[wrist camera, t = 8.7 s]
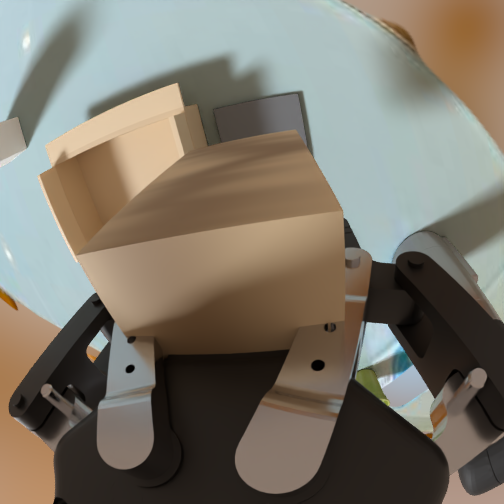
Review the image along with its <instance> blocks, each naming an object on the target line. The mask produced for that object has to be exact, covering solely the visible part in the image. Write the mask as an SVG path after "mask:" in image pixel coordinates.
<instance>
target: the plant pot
mask: <svg viewBox="0 0 504 504" xmlns="http://www.w3.org/2000/svg"><path fill="white" fill-rule="evenodd" d="M356 380H357V381H358V382H359V383H360V384H362V385H363V386H364V387H365V388H367V389H368V390H369V391H370V392H371V393H373V394H374V395H375V396H376V397H378V398H379V399H380V400H381V401H383V402H384V403H385V404H386V405H388V406H389V405H390V402H389V400H388V399H387V398H386V396H385V395H384V393H383V391H382V389H381V386H380V384H379V382H378V379H377V377H376V374H375V372H374V371H373V370H370V369H364V370H360V371H359V372H357V375H356Z"/></svg>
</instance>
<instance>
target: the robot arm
mask: <svg viewBox="0 0 504 504" xmlns="http://www.w3.org/2000/svg"><path fill="white" fill-rule="evenodd" d="M343 219H344V240H345V321H339V322H332V323H331V332H328V323H325V324H318V325H310V326H302V327H299V329H298V331H297V334H296V336H295V339H294V341H293V344H292V346H291V348H290V349H285V350H275V351H263V352H248V353H232V354H191V355H176V354H168V357H167V358H166V359H163V349H162V348H161V346H160V345H159V343H158V342H157V340H156V339H155V337H154V336H125V335H124V334H123V332H122V331H121V329H120V328H119V326H118V325H117V323H116V322H115V321H114V319H113V318H112V316H111V315H110V313H109V311H108V310H107V308H106V307H105V305H104V304H103V302H102V301H101V299H100V297H99V296H98V294H97V292H96V293H95V294H93V295H92V296H91V297H90V298H89V299H88V300H87V301H86V302H85V303H84V304H83V306H82V307H81V308H80V309H79V310H78V311H77V312H76V314H75V315H74V316H73V317H72V318H71V319H70V320H69V322H68V323H67V324H66V325H65V326H64V328H63V329H62V330H61V331H60V333H59V334H58V335H57V336H56V337H55V339H54V340H53V341H52V342H51V343H50V345H49V346H48V347H47V349H46V350H45V351H44V352H43V354H42V355H41V356H40V357H39V359H38V360H37V362H36V363H35V364H34V365H33V367H32V368H31V369H30V371H29V372H28V374H27V375H26V376H25V378H24V379H23V380H22V382H21V383H20V385H19V386H18V388H17V389H16V390H15V392H14V393H13V395H12V397H11V399H10V402H9V413H10V414H11V416H12V417H14V418H15V419H16V420H17V421H19V422H20V423H21V424H23V425H24V426H25V427H26V428H27V429H28V430H29V431H31V432H32V433H33V434H35V435H36V436H38V437H40V438H41V439H42V440H43V441H44V442H45V443H46V444H47V445H48V446H49V447H50V448H51V449H52V450H53V451H54V452H55V453H54V472H55V499H54V503H53V504H442V501H443V499H444V497H445V494H446V492H447V488H448V484H449V476H450V475H451V474H453V473H454V472H455V471H457V470H458V473H459V477H460V480H461V483H462V485H463V487H464V489H465V490H466V492H467V493H469V494H470V495H474V496H475V495H480V494H482V493H485V492H487V491H489V490H491V489H493V488H495V487H497V486H499V485H501V484H502V483H504V324H503V322H502V320H501V319H500V317H499V316H498V314H497V312H496V311H495V309H494V308H493V306H492V305H491V303H490V302H489V300H488V299H487V297H486V296H485V294H484V293H483V292H482V290H481V289H480V287H479V286H478V284H477V281H478V275H477V274H476V273H475V271H474V270H473V269H472V267H471V266H470V265H469V264H468V262H467V261H466V260H465V259H464V257H463V256H462V255H461V254H460V253H459V251H458V250H457V249H456V248H455V247H454V246H453V244H452V243H451V242H450V241H449V240H448V239H447V238H446V237H440V236H438V235H437V234H436V233H433V232H430V231H423V232H418V233H415V234H413V235H411V236H410V237H408V238H407V239H406V240H405V241H403V242H402V244H401V245H400V246H399V247H398V249H397V250H396V252H395V254H394V257H393V260H392V264H390V263H380V262H376V261H373V260H372V257H371V255H370V254H369V253H368V252H367V251H365V250H363V249H361V248H360V246H359V244H358V241H357V239H356V237H355V235H354V233H353V231H352V229H351V228H350V225H349V223H348V221H347V220H346V219H345V218H343ZM367 322H372V323H383V324H388V326H389V328H390V330H391V331H392V333H393V334H394V336H395V337H396V338H397V340H398V341H399V343H400V344H401V346H402V347H403V349H404V350H405V352H406V353H407V355H408V357H409V358H410V360H411V361H412V363H413V364H414V366H415V367H416V369H417V370H418V372H419V374H420V375H421V377H422V378H423V380H424V382H425V383H426V385H427V387H428V388H429V390H430V391H431V393H432V395H433V396H434V398H435V400H434V401H433V403H432V405H431V408H430V419H431V422H432V425H433V437H432V440H431V439H430V438H429V437H427V436H426V435H425V434H423V433H422V432H421V431H420V430H418V429H417V428H416V427H414V426H413V425H412V424H410V423H409V422H408V421H407V420H405V419H404V418H403V417H402V416H400V415H399V414H398V413H396V412H395V411H394V410H393V409H391V408H390V407H389V406H388V405H386V404H385V403H384V402H383V401H381V400H380V399H379V398H378V397H376V396H375V395H374V394H373V393H371V392H370V391H369V390H368V389H367V388H365V387H364V386H363V385H362V384H360V383H359V382H358V381H357V380H356V375H357V371H358V366H359V360H360V355H361V351H362V346H363V340H364V335H365V330H366V324H367ZM100 330H101V332H102V333H103V334H104V336H105V337H106V338H107V340H108V341H109V342H108V343H107V345H106V346H105V347H104V349H103V350H102V352H101V353H100V354H99V356H98V357H97V358H96V360H95V361H94V363H92V362H91V361H90V359H89V358H88V357H87V354H86V349H87V347H88V345H89V344H90V342H91V341H92V340H93V338H94V337H95V336H96V335H97V333H98V332H99V331H100Z"/></svg>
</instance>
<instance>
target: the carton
mask: <svg viewBox="0 0 504 504" xmlns="http://www.w3.org/2000/svg"><path fill="white" fill-rule="evenodd" d="M207 146H208V144H207V140H206V136H205V132H204V129H203V125H202V121H201V117H200V113H199V109H198V105H197V104H195V105H189V106H184V102H183V98H182V94H181V90H180V87H179V83H175V84H172V85H169V86H166V87H163V88H160V89H158V90H155V91H152V92H150V93H147V94H145V95H142V96H140V97H137V98H135V99H132V100H130V101H128V102H125V103H123V104H121V105H119V106H116V107H114V108H112V109H110V110H108V111H106V112H104V113H102V114H100V115H98V116H96V117H94V118H92V119H90V120H88V121H86V122H84V123H82V124H80V125H79V126H77V127H75V128H73V129H71V130H70V131H68V132H66V133H65V134H63V135H61V136H60V137H58V138H56V139H55V140H53V141H51V142H50V143H48V144H47V145H45V147H46V150H47V153H48V156H49V159H50V162H51V165H52V168H51V169H49V170H47V171H45V172H44V173H42V174H40V175H38V176H37V177H38V180H39V182H40V185H41V188H42V190H43V193H44V195H45V198H46V200H47V203H48V205H49V207H50V210H51V212H52V214H53V217H54V219H55V221H56V223H57V225H58V227H59V230H60V232H61V234H62V236H63V238H64V240H65V242H66V244H67V246H68V248H69V250H70V252H71V254H72V256H73V258H74V259H75V261H76V262H79V261H78V259H77V257H76V255H77V254H78V253H79V251H80V250H81V249H82V248H83V247H84V246H85V245H86V244H87V243H88V242H89V241H90V240H91V239H92V238H93V237H94V236H95V235H96V234H97V233H98V232H99V231H100V229H101V228H102V227H103V226H104V225H105V224H107V223H108V222H109V221H110V220H111V219H112V218H113V217H114V216H115V215H116V214H117V213H118V212H119V211H120V210H121V209H122V208H123V207H124V206H125V205H126V204H127V203H129V202H130V201H131V200H132V199H133V198H134V197H135V196H136V195H137V194H138V193H140V192H141V191H142V190H143V189H144V188H145V187H146V186H148V185H149V184H150V183H151V182H152V181H153V180H155V179H156V178H157V177H158V176H159V175H160V174H162V173H163V172H164V171H165V170H166V169H168V168H169V167H170V166H171V165H173V164H174V163H175V162H176V161H178V160H179V159H180V158H181V157H183V156H184V155H185V154H187V153H188V152H189V151H191V150H194V149H198V148H202V147H207Z"/></svg>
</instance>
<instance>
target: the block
mask: <svg viewBox="0 0 504 504" xmlns="http://www.w3.org/2000/svg"><path fill="white" fill-rule="evenodd" d="M76 257H77V259H78V261H79V263H80V265H81V266H82V268H83V270H84V272H85V274H86V275H87V277H88V279H89V281H90V282H91V284H92V286H93V287H94V289H95V291H96V292H97V294H98V296H99V297H100V299H101V301H102V302H103V304H104V305H105V307H106V308H107V310H108V311H109V313H110V315H111V316H112V318H113V319H114V321H115V322H116V323H117V325H118V326H119V328H120V329H121V331H122V332H123V334H124V335H125V336H154V337H155V339H156V340H157V342H158V343H159V345H160V346H161V348H162V349H163V359H166V358H167V357H168V354H176V355H191V354H232V353H248V352H263V351H275V350H285V349H290V348H291V346H292V344H293V341H294V339H295V336H296V334H297V331H298V329H299V327H302V326H310V325H318V324H325V323H328V332H331V323H332V322H339V321H345V240H344V219H343V210H342V208H341V206H340V204H339V202H338V200H337V198H336V196H335V195H334V193H333V191H332V189H331V187H330V186H329V184H328V182H327V180H326V178H325V177H324V175H323V173H322V171H321V170H320V168H319V166H318V165H317V163H316V161H315V160H314V158H313V156H312V155H311V153H310V151H309V150H308V148H307V146H306V145H305V143H304V142H303V140H302V138H301V137H300V135H299V134H298V132H297V131H296V130H289V131H282V132H276V133H270V134H264V135H259V136H253V137H248V138H243V139H238V140H233V141H228V142H224V143H219V144H215V145H211V146H207V147H202V148H198V149H194V150H191V151H189V152H188V153H187V154H185V155H184V156H183V157H181V158H180V159H179V160H178V161H176V162H175V163H174V164H173V165H171V166H170V167H169V168H168V169H166V170H165V171H164V172H163V173H162V174H160V175H159V176H158V177H157V178H156V179H155V180H153V181H152V182H151V183H150V184H149V185H148V186H146V187H145V188H144V189H143V190H142V191H141V192H140V193H138V194H137V195H136V196H135V197H134V198H133V199H132V200H131V201H130V202H129V203H127V204H126V205H125V206H124V207H123V208H122V209H121V210H120V211H119V212H118V213H117V214H116V215H115V216H114V217H113V218H112V219H111V220H110V221H109V222H108V223H107V224H105V225H104V226H103V227H102V228H101V229H100V231H99V232H98V233H97V234H96V235H95V236H94V237H93V238H92V239H91V240H90V241H89V242H88V243H87V244H86V245H85V246H84V247H83V248H82V249H81V250H80V251H79V253H78V254H77V255H76Z"/></svg>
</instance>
